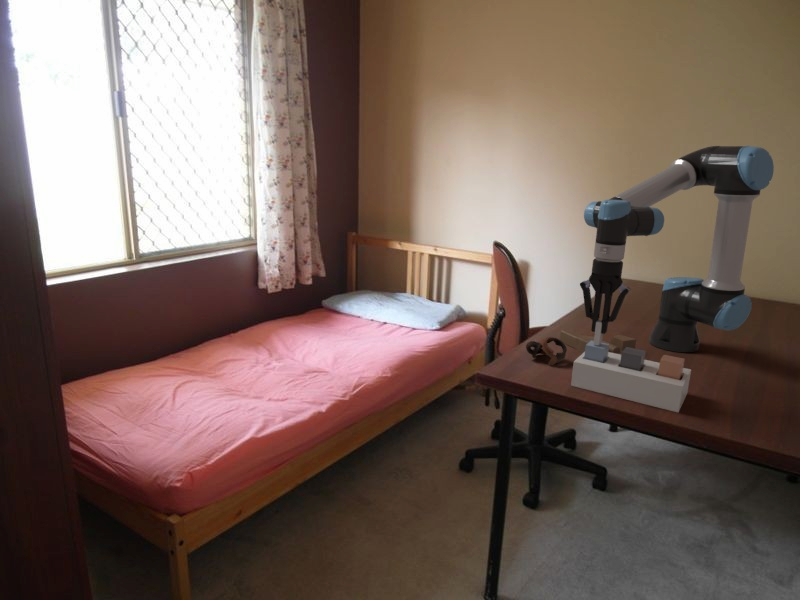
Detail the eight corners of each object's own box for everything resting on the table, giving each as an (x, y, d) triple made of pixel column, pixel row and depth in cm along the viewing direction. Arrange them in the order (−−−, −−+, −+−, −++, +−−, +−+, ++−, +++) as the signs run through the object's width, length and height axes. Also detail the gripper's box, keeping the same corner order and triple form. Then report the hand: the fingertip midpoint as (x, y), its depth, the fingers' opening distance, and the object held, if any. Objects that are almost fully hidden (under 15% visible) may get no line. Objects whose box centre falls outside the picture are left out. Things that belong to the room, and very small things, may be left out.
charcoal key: (643, 368, 153) (645, 350, 152) (639, 374, 149) (641, 356, 148) (623, 364, 156) (626, 346, 155) (619, 369, 152) (621, 351, 151)
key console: (687, 393, 153) (691, 369, 151) (678, 412, 141) (682, 386, 140) (586, 370, 167) (588, 347, 165) (570, 385, 156) (573, 361, 154)
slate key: (607, 361, 159) (609, 344, 157) (602, 366, 155) (604, 349, 153) (589, 357, 161) (591, 340, 160) (583, 362, 157) (585, 345, 156)
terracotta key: (681, 376, 148) (684, 358, 147) (678, 383, 144) (681, 364, 143) (661, 372, 151) (663, 354, 150) (657, 378, 147) (660, 360, 146)
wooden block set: (598, 343, 175) (559, 326, 191) (596, 361, 176) (558, 342, 192) (639, 337, 182) (599, 321, 198) (637, 354, 183) (597, 337, 199)
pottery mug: (553, 355, 181) (566, 337, 175) (558, 377, 174) (572, 360, 168) (518, 346, 179) (530, 328, 173) (522, 368, 171) (535, 350, 166)
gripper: (579, 258, 151) (569, 342, 157) (630, 264, 144) (618, 352, 150) (587, 254, 157) (578, 335, 163) (637, 260, 150) (625, 345, 156)
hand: (597, 343), depth 156 cm, fingers closed
